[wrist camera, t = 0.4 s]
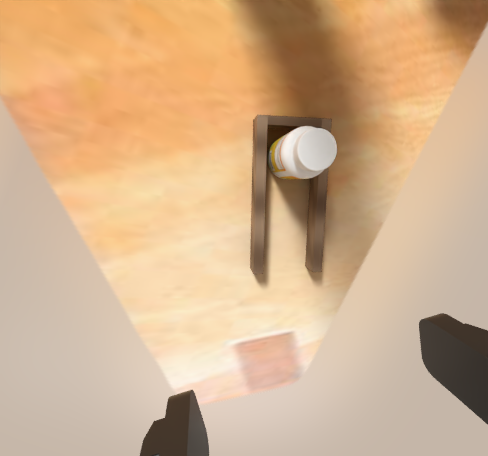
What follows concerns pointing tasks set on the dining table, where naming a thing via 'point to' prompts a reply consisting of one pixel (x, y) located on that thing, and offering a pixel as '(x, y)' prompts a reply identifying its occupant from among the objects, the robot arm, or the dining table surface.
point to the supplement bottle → (302, 153)
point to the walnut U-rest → (259, 189)
